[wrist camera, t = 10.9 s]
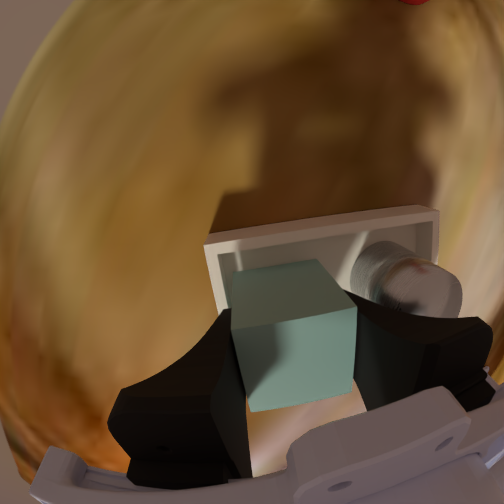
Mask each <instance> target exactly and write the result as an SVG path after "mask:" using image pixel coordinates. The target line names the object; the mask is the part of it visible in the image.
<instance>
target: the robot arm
mask: <svg viewBox="0 0 504 504" xmlns="http://www.w3.org/2000/svg"><path fill="white" fill-rule="evenodd" d="M343 290H344V289H343ZM344 291H345V293H346V294H347V295H348V296H349V297H350V299H351V300H352V301H353V302H354V303H355V305H356V306H357V327H356V346H355V360H354V372H353V379H354V381H355V382H356V384H357V387H358V389H359V391H360V394H361V396H362V399H363V401H364V404H365V406H366V409H367V412H364V413H361V414H357V415H354V416H351V417H347V418H344V419H340V420H336V421H332V422H330V423H327V424H324V425H322V426H319V427H316V428H314V429H311V430H309V431H308V432H307V433H305V434H304V435H302V436H301V437H300V438H298V439H297V440H295V441H294V442H293V443H292V444H291V446H290V448H289V450H288V453H287V455H286V458H287V465H288V467H287V469H284V470H281V471H278V472H274V473H270V474H267V475H263V476H259V477H255V478H253V476H252V468H251V460H250V451H249V441H248V431H247V420H246V391H245V387H244V383H243V379H242V375H241V371H240V367H239V362H238V358H237V354H236V350H235V345H234V341H233V337H232V332H231V312H232V308H227V309H223V310H222V312H221V313H220V315H219V316H218V317H217V319H216V320H215V322H214V323H213V325H212V326H211V327H210V328H209V330H208V331H207V332H206V334H205V335H204V336H203V337H202V338H201V339H200V341H199V342H198V343H197V344H196V345H195V346H194V347H193V348H192V349H191V350H190V351H188V352H187V353H186V354H185V355H184V356H183V357H181V358H180V359H179V360H177V361H176V362H174V363H173V364H172V365H170V366H169V367H167V368H166V369H164V370H162V371H161V372H159V373H157V374H155V375H154V376H152V377H150V378H148V379H146V380H143V381H141V382H139V383H136V384H134V385H131V386H129V387H126V388H123V389H121V391H120V393H119V395H118V397H117V399H116V401H115V404H114V406H113V408H112V411H111V413H110V415H109V418H108V421H107V424H108V429H109V431H110V432H111V434H112V436H113V437H114V439H115V440H116V441H117V442H118V443H119V445H120V446H121V447H122V448H123V449H124V451H125V452H126V453H127V454H128V455H129V456H130V458H131V460H130V464H129V467H128V471H127V474H126V473H120V472H114V471H109V470H104V469H100V468H95V467H91V466H88V465H87V464H86V463H85V462H84V460H83V459H82V458H81V457H79V456H78V455H76V454H75V453H73V452H70V451H67V450H64V449H60V448H57V447H54V446H49V448H48V450H47V452H46V454H45V456H44V459H43V461H42V463H41V465H40V467H39V469H38V471H37V473H36V476H35V478H34V480H33V482H32V485H31V487H30V489H29V494H30V495H32V496H33V497H34V498H35V499H37V500H38V501H40V502H41V503H42V504H504V382H503V383H502V384H501V385H498V384H497V383H496V382H495V381H494V380H493V379H492V378H491V377H490V375H489V374H488V371H489V367H488V366H486V367H484V365H485V362H486V359H487V357H488V354H489V351H490V349H491V345H492V340H493V332H492V328H491V327H490V326H489V325H488V324H487V323H485V322H484V321H483V320H481V319H480V318H479V317H464V318H438V317H428V316H421V315H415V314H410V313H406V312H402V311H398V310H394V309H391V308H388V307H385V306H383V305H380V304H377V303H375V302H372V301H370V300H367V299H365V298H363V297H360V296H358V295H356V294H354V293H351V292H349V291H346V290H344ZM483 367H484V368H483Z"/></svg>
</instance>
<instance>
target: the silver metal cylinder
mask: <svg viewBox="0 0 504 504" xmlns="http://www.w3.org/2000/svg"><path fill="white" fill-rule="evenodd" d="M350 287H351V291H352V293H354V294H356V295H358V296H360V297H363V298H365V299H367V300H370V301H372V302H375V303H377V304H380V305H383V306H385V307H388V308H391V309H394V310H398V311H402V312H406V313H410V314H415V315H421V316H428V317H438V318H457V317H458V315H459V312H460V309H461V305H462V288H461V284H460V282H459V280H458V279H457V278H456V276H454V275H453V274H451V273H450V272H448V271H446V270H444V269H443V268H441V267H439V266H437V265H436V264H434V263H432V262H430V261H429V260H427V259H425V258H423V257H421V256H420V255H418V254H416V253H414V252H412V251H410V250H408V249H407V248H405V247H403V246H401V245H399V244H397V243H395V242H392V241H379V242H376V243H374V244H372V245H370V246H368V247H367V248H366V249H365V250H364V251H363V252H362V253H361V254H360V255H359V256H358V258H357V259H356V261H355V263H354V265H353V267H352V270H351V275H350Z"/></svg>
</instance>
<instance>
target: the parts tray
mask: <svg viewBox="0 0 504 504" xmlns="http://www.w3.org/2000/svg"><path fill="white" fill-rule="evenodd" d="M379 241H392V242H395V243H397V244H399V245H401V246H403V247H405V248H407V249H408V250H410V251H412V252H414V253H416V254H418V255H420V256H421V257H423V258H425V259H427V260H429V261H430V262H432V263H434V264H436V265H437V262H438V247H439V210H436V209H432V208H428V207H425V206H421V205H417V204H416V205H408V206H399V207H391V208H382V209H374V210H366V211H359V212H351V213H344V214H336V215H329V216H322V217H314V218H307V219H300V220H294V221H287V222H280V223H274V224H267V225H260V226H254V227H248V228H241V229H235V230H229V231H223V232H217V233H211V234H208V236H207V239H206V241H205V243H204V250H205V255H206V260H207V264H208V269H209V274H210V279H211V283H212V288H213V292H214V297H215V301H216V305H217V310H218V314H219V315H220V313H221V312H222V310H223V309H227V308H232V285H233V272H237V271H244V270H250V269H256V268H263V267H269V266H275V265H281V264H287V263H293V262H299V261H305V260H311V259H317V260H318V261H319V262H320V263H321V264H322V266H323V267H324V268H325V269H326V270H327V271H328V273H329V274H330V275H331V276H332V277H333V278H334V280H335V281H336V282H337V283H338V284H339V285H340V287H341V288H342V289H344V290H346V291H349V292H351V293H352V291H351V287H350V275H351V270H352V267H353V265H354V263H355V261H356V259H357V258H358V256H359V255H360V254H361V253H362V252H363V251H364V250H365V249H366V248H367V247H368V246H370V245H372V244H374V243H376V242H379Z"/></svg>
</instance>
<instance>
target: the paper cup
mask: <svg viewBox="0 0 504 504" xmlns="http://www.w3.org/2000/svg"><path fill="white" fill-rule="evenodd" d="M399 1H401V2H404V3H407V4H411V5H420V4H423V3H425V2H427V1H429V0H399Z"/></svg>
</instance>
